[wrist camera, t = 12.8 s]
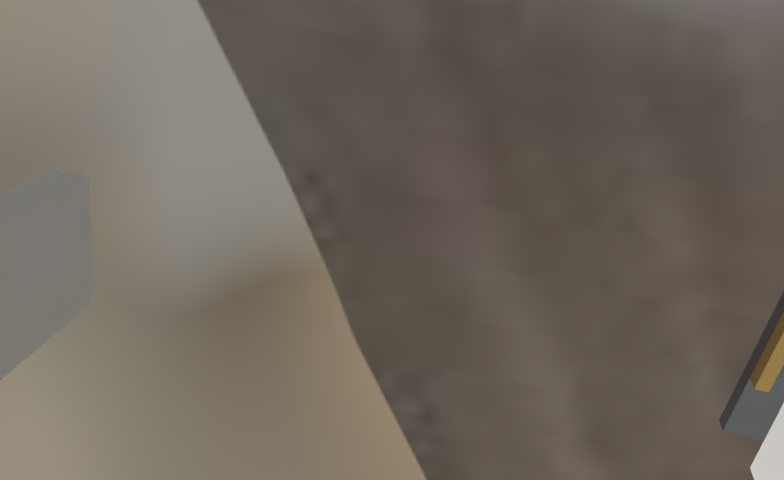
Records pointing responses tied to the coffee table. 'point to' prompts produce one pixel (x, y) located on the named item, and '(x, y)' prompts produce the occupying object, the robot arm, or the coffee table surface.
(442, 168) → the coffee table surface
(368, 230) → the coffee table surface
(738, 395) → the coupling bench
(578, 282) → the coffee table surface
